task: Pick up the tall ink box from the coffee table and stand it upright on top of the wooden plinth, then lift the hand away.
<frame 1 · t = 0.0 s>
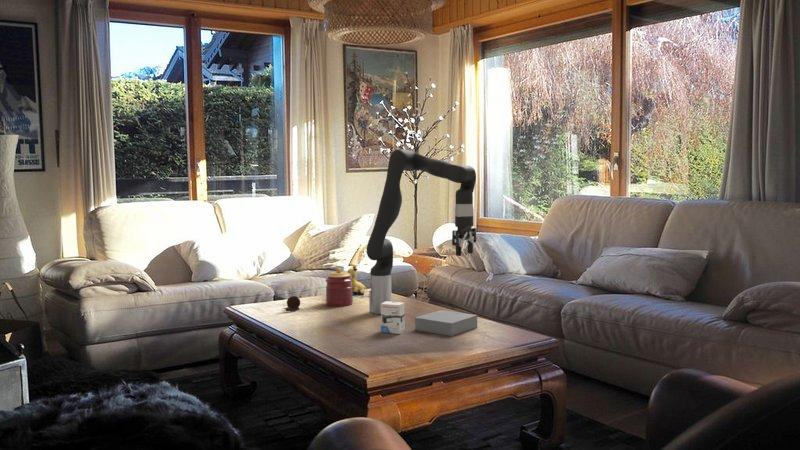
hand: (464, 254, 284), 29 cm above the table, tool pointing down, fingers open, 8 cm apart
canister: (339, 304, 335), on the table
ink box: (392, 332, 277), on the table
stuffed giraffe: (359, 295, 359), on the table
plinth: (446, 328, 282), on the table
dark brown round ball: (290, 310, 323), on the table
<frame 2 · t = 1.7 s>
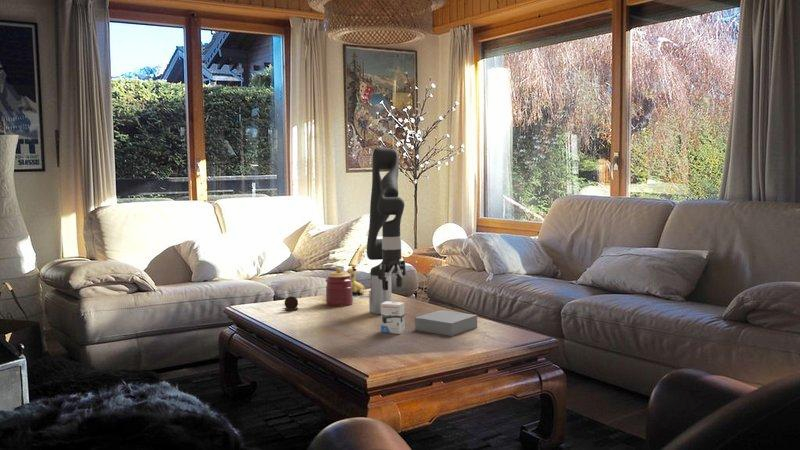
hand: (392, 288, 276), 17 cm above the table, tool pointing down, fingers open, 8 cm apart
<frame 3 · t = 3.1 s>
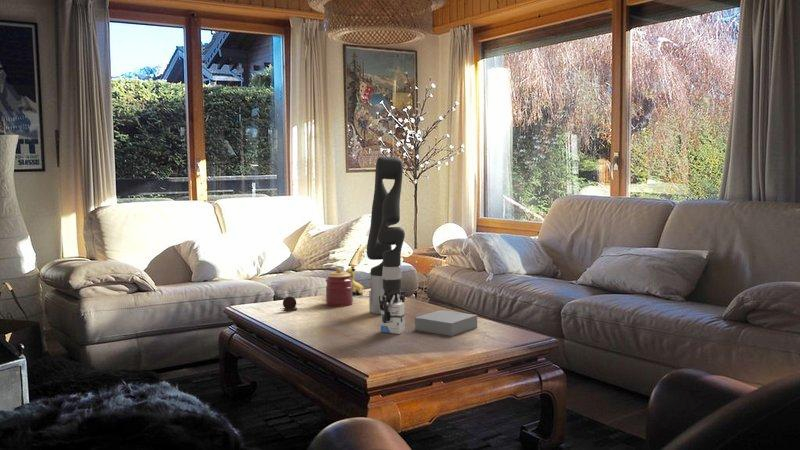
hand: (392, 319, 277), 5 cm above the table, tool pointing down, fingers closed on ink box, 5 cm apart
ink box: (392, 332, 277), on the table, touching gripper
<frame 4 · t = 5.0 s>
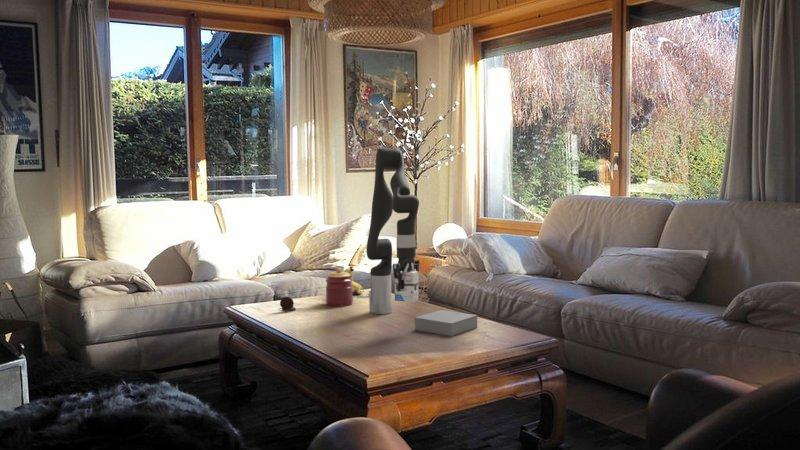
hand: (406, 287, 277), 17 cm above the table, tool pointing down, fingers closed on ink box, 5 cm apart
ink box: (406, 301, 277), point 12 cm above the table, touching gripper
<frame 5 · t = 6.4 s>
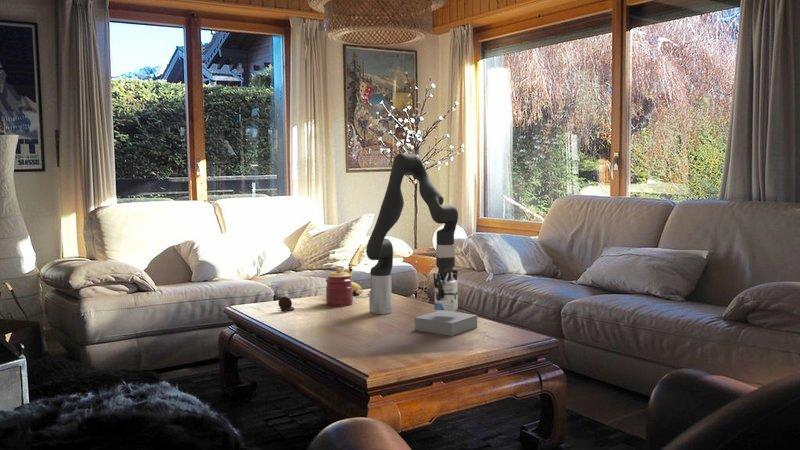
hand: (445, 296, 281), 13 cm above the table, tool pointing down, fingers closed on ink box, 5 cm apart
ink box: (446, 309, 281), point 8 cm above the table, touching gripper
when the fingers open (11 cm above the table, at t = 7.1 s): ink box drops 1 cm, resting on plinth.
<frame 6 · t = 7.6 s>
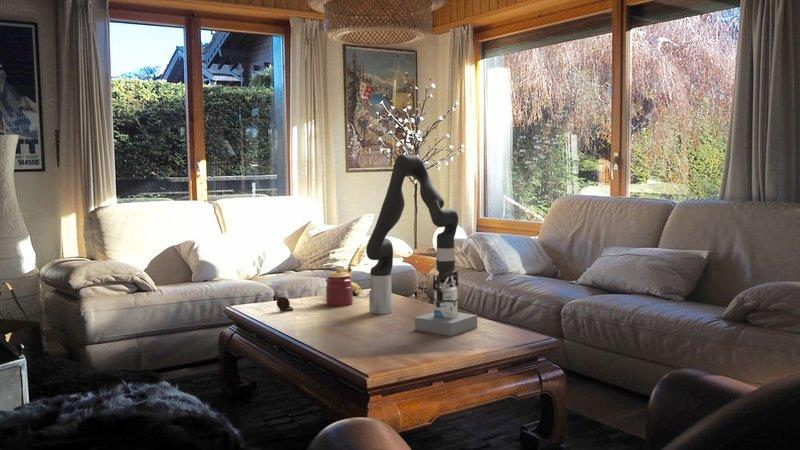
hand: (446, 298, 281), 12 cm above the table, tool pointing down, fingers open, 8 cm apart
ink box: (445, 316, 281), point 5 cm above the table, touching plinth
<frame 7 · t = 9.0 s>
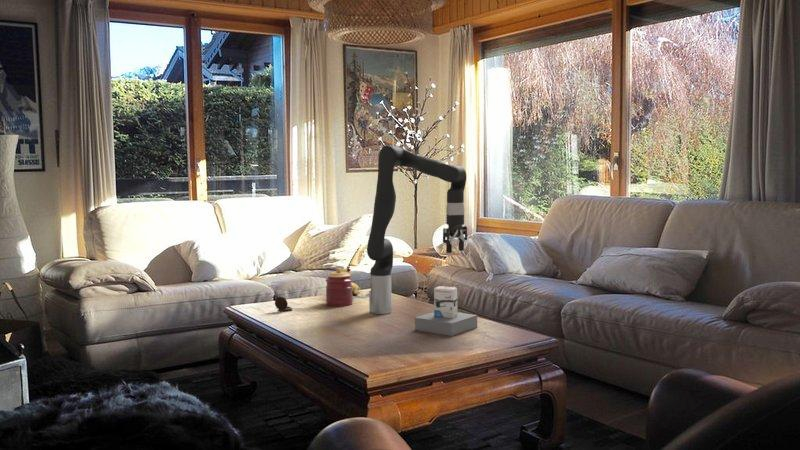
hand: (455, 251, 294), 29 cm above the table, tool pointing down, fingers open, 8 cm apart
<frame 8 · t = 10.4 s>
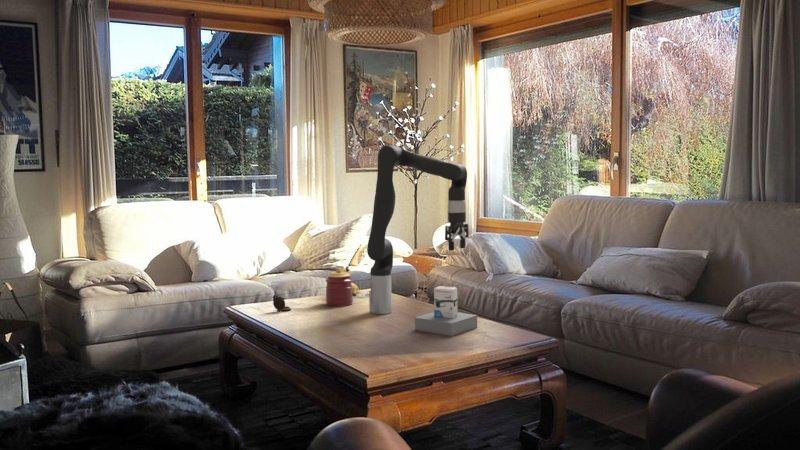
hand: (457, 249, 296), 30 cm above the table, tool pointing down, fingers open, 8 cm apart
at the end: ink box inside the target area on the plinth (0.2 cm from its centre), point 4.8 cm above the plinth's base; ink box tilted 0°; the gripper is holding nothing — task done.
